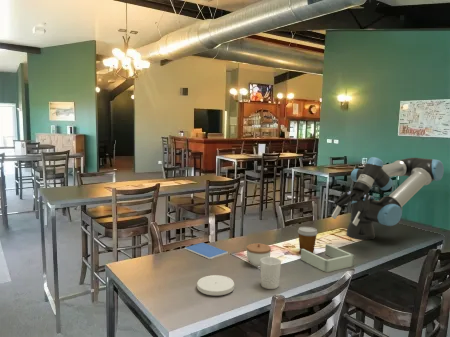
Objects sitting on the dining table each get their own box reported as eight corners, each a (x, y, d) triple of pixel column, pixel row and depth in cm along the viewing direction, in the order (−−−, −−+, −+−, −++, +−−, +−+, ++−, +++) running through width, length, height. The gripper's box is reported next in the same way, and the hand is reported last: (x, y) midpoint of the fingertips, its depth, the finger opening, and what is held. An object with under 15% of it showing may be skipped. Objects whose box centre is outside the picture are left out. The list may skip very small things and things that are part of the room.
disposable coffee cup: (317, 257, 169) (318, 232, 168) (296, 255, 171) (297, 231, 169) (316, 250, 178) (317, 227, 177) (296, 248, 180) (297, 225, 179)
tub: (326, 253, 174) (327, 244, 173) (353, 265, 160) (354, 255, 159) (300, 259, 166) (301, 249, 165) (326, 272, 152) (326, 261, 151)
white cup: (257, 281, 142) (258, 257, 141) (277, 280, 143) (278, 256, 142) (261, 290, 134) (262, 264, 133) (282, 289, 135) (283, 264, 134)
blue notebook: (183, 249, 178) (183, 247, 177) (202, 244, 186) (202, 241, 186) (209, 260, 164) (209, 258, 164) (228, 254, 173) (228, 251, 172)
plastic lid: (189, 291, 133) (189, 285, 133) (210, 278, 145) (210, 272, 145) (221, 301, 126) (221, 295, 125) (240, 286, 138) (240, 280, 137)
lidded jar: (254, 270, 153) (255, 249, 152) (241, 261, 162) (242, 241, 161) (275, 266, 158) (275, 245, 157) (261, 258, 167) (262, 238, 166)
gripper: (340, 177, 190) (321, 211, 186) (380, 185, 168) (359, 223, 164) (348, 185, 193) (329, 218, 189) (388, 193, 171) (368, 231, 168)
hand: (343, 221), depth 177 cm, fingers open, 13 cm apart
